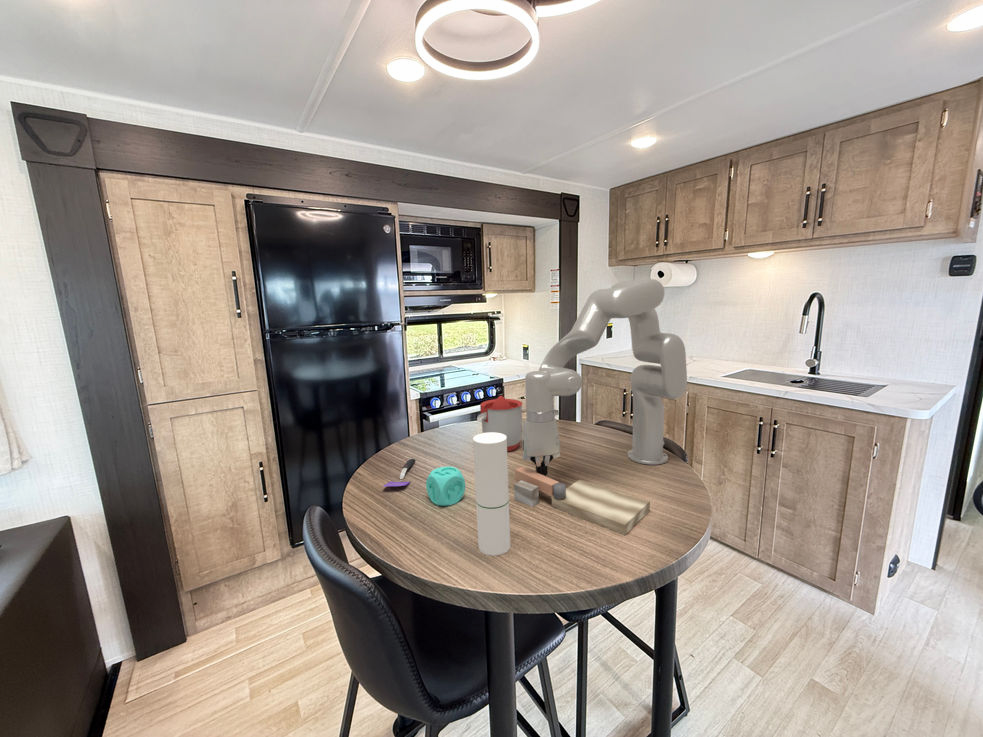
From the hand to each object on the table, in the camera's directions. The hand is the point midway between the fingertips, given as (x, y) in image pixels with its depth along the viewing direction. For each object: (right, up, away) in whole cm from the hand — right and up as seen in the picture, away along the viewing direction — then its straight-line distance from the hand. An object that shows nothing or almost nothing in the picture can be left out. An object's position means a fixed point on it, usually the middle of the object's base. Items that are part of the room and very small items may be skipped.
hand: (542, 477), depth 111 cm
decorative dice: (-27, -6, -2) cm, 28 cm away
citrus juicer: (-11, +1, +36) cm, 37 cm away
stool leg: (-1, -2, -4) cm, 4 cm away
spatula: (-43, -4, +15) cm, 45 cm away
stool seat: (+9, -5, -9) cm, 13 cm away
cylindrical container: (-14, -8, -25) cm, 29 cm away
